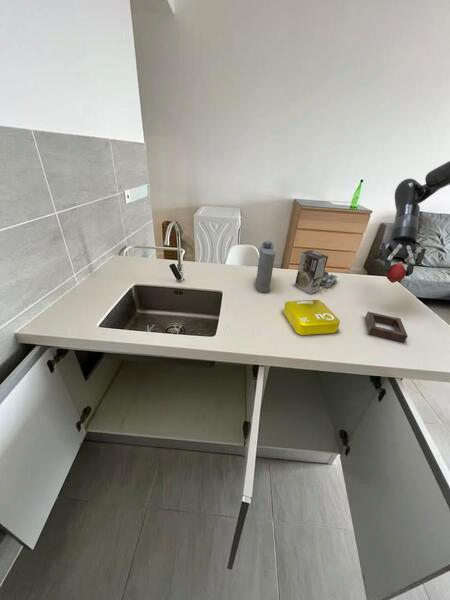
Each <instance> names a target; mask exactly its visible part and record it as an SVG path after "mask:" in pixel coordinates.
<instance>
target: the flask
mask: <svg viewBox="0 0 450 600" xmlns="http://www.w3.org/2000/svg"><path fill="white" fill-rule="evenodd" d="M275 258H276V252H275V250H274V243H273V242H272V241H271V240H264V241H263V242H262V243H261V244H260V247H259V255H258V264H257V270H256V279H255V287H256V289H257V291H258V292H259V293H262V294H266V293H269V292H270V288H271V283H272V276H273V269H274V263H275Z"/></svg>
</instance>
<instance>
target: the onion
mask: <svg viewBox="0 0 450 600" xmlns="http://www.w3.org/2000/svg"><path fill="white" fill-rule="evenodd" d="M403 264H404V262H403V261H399V262H397V263H393V264H391V267H390V271H389V272H388V273H386V272H385V277H386V279H387V280H388V281H389V282H390V283H391V284H392V283H393V284H394V283H397V282H400V281H402V280H403V279H405V277H406V269H407V268H405V265H403Z"/></svg>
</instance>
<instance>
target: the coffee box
mask: <svg viewBox="0 0 450 600" xmlns="http://www.w3.org/2000/svg"><path fill="white" fill-rule="evenodd" d="M299 259H300V260H299V263H298V269H297V274H296V278H295V283H294V286H295V287H297V288H298V289H300V290H302V291H304V292H306V293H308V294H309V295H311V294H314V293H316V292H319V291H320V287H321V285H320V284H321V281H322V277H323V274H324V270H325V271H326V267H327V262H328V259H329V256H328V255H325V254H323V253H320V252H319V251H318V252H317V251H315V250H312V249H310V250H309V249H308V250H306V251H303V252H301V254H300V258H299Z"/></svg>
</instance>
